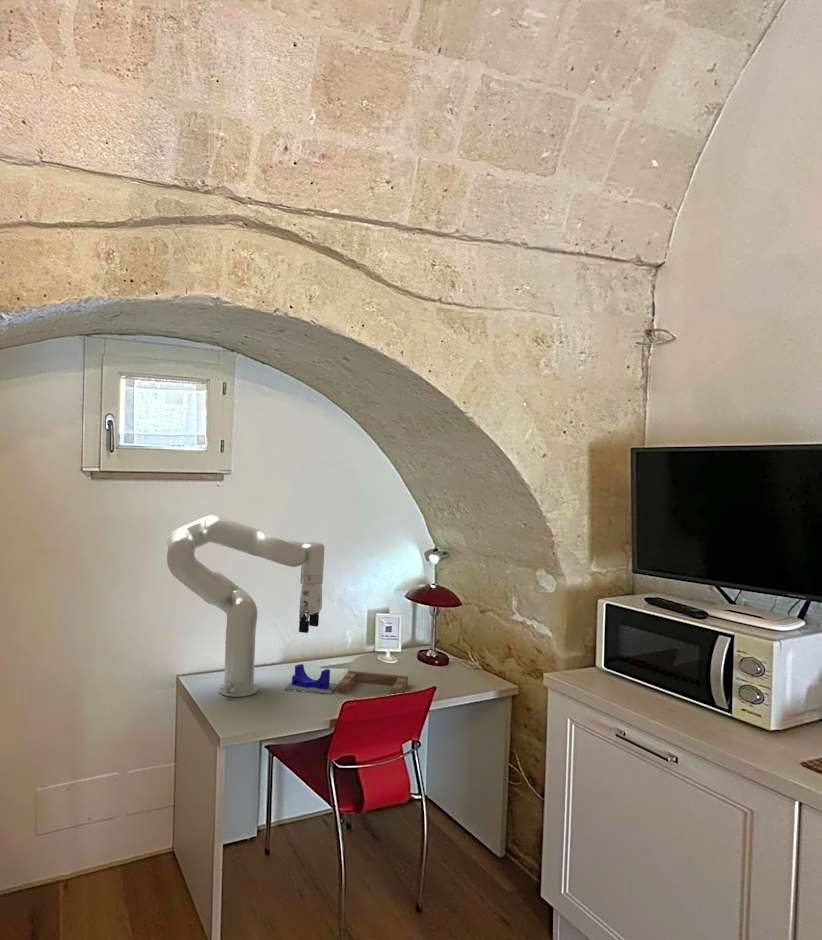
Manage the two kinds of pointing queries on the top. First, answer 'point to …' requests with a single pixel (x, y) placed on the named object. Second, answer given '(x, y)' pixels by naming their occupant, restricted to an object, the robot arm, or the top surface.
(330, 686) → the rubber mat
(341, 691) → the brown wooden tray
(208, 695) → the top surface
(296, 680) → the blue u-shaped cradle
